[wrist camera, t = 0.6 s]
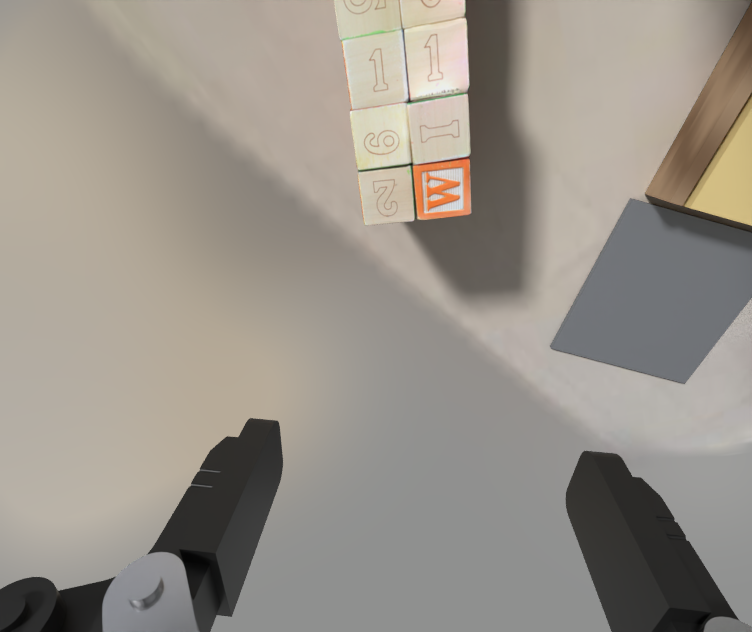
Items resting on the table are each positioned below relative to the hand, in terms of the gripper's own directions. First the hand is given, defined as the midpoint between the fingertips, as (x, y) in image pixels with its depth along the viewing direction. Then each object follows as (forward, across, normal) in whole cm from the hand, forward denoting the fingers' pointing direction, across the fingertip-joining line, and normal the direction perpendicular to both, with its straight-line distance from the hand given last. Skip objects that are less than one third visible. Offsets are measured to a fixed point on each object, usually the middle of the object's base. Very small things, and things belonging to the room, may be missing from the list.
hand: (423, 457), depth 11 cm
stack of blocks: (+28, +2, -13) cm, 30 cm away
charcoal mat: (+27, -22, +6) cm, 36 cm away
